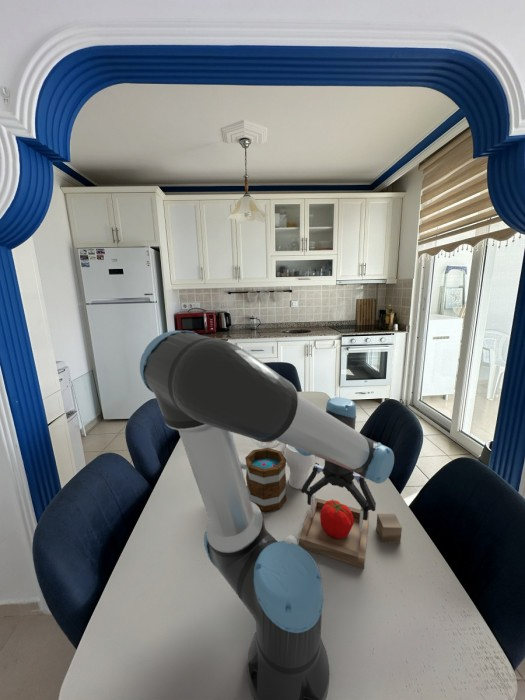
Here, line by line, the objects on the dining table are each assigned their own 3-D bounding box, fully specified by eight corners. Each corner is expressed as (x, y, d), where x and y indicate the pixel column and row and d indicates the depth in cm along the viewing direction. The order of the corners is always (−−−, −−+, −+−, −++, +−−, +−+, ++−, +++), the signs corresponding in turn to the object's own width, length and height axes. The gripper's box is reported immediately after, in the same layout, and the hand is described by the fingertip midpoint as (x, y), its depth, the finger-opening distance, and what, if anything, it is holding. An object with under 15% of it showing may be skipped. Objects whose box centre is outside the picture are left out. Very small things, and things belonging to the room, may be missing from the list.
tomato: (329, 549, 80) (330, 522, 79) (312, 521, 90) (313, 496, 88) (359, 540, 83) (361, 515, 81) (340, 514, 92) (341, 490, 91)
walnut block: (400, 542, 83) (401, 527, 82) (382, 542, 83) (383, 527, 82) (393, 528, 88) (394, 513, 87) (376, 528, 88) (377, 513, 87)
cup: (313, 493, 103) (314, 454, 99) (282, 490, 105) (282, 451, 101) (314, 474, 113) (315, 438, 110) (286, 471, 115) (286, 436, 112)
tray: (363, 568, 76) (364, 559, 75) (299, 547, 82) (299, 538, 81) (368, 520, 91) (369, 512, 90) (313, 505, 97) (313, 497, 97)
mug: (287, 486, 107) (287, 448, 103) (285, 515, 94) (285, 472, 90) (233, 483, 109) (231, 445, 106) (224, 510, 96) (222, 468, 93)
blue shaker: (295, 576, 74) (295, 546, 72) (280, 570, 75) (279, 541, 74) (299, 562, 78) (300, 534, 76) (285, 557, 79) (285, 529, 77)
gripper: (389, 456, 80) (383, 523, 84) (298, 439, 89) (297, 500, 94) (388, 472, 73) (382, 545, 77) (290, 451, 82) (290, 517, 87)
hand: (336, 520), depth 86 cm, fingers open, 13 cm apart
